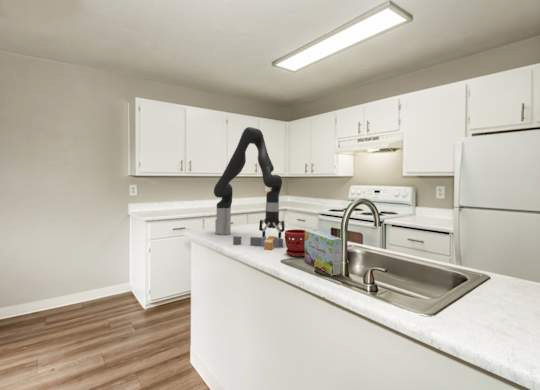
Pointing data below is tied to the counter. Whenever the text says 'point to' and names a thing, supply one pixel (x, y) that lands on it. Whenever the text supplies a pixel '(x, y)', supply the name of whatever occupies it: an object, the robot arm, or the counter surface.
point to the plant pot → (295, 242)
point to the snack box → (323, 251)
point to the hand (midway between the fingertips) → (271, 238)
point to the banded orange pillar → (269, 243)
